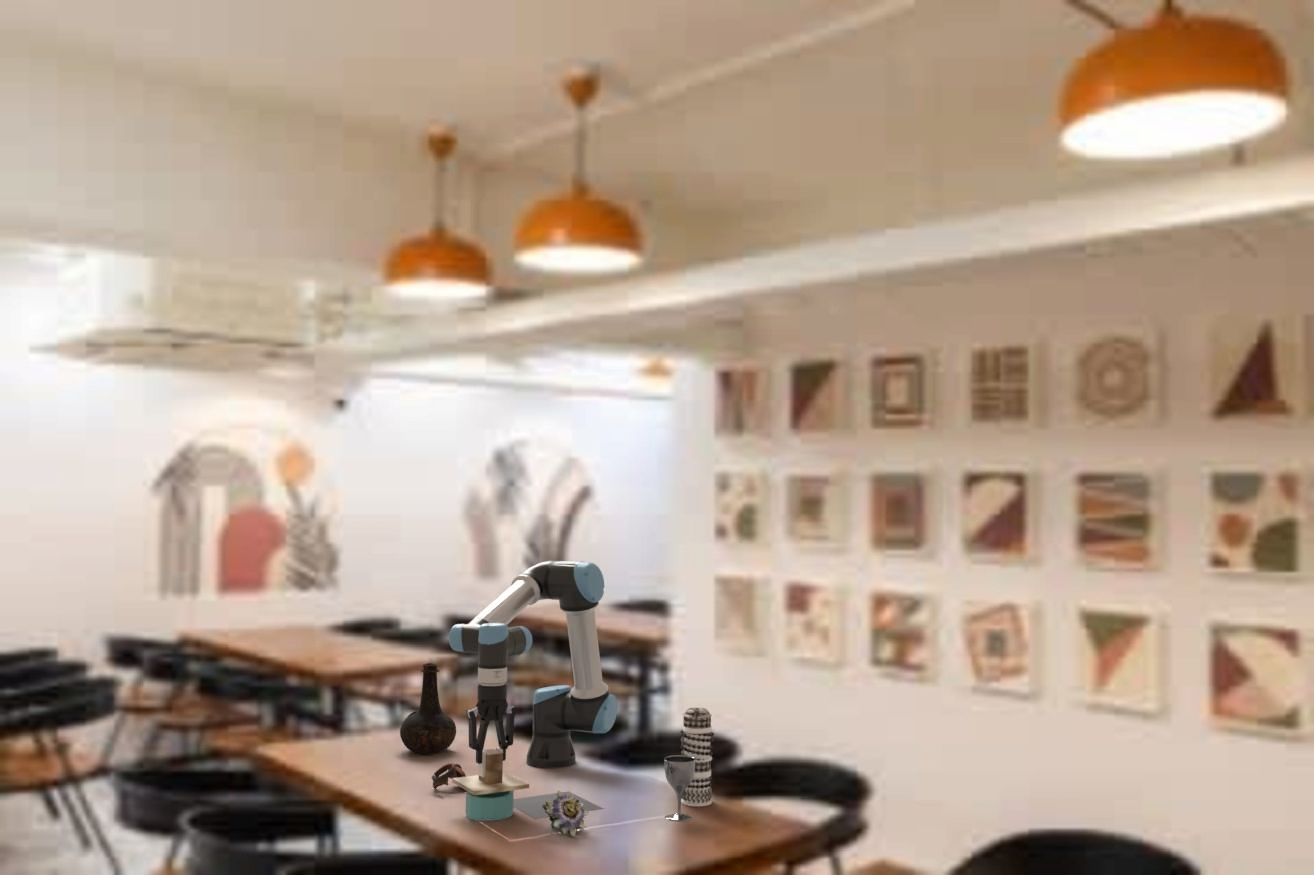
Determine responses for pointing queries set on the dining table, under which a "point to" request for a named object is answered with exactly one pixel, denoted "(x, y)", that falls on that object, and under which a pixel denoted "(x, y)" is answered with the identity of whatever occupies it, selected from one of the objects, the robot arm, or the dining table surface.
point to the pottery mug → (447, 774)
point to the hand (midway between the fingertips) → (490, 774)
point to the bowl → (490, 805)
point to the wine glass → (679, 780)
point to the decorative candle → (698, 755)
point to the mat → (535, 804)
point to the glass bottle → (428, 720)
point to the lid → (491, 777)
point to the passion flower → (566, 813)
